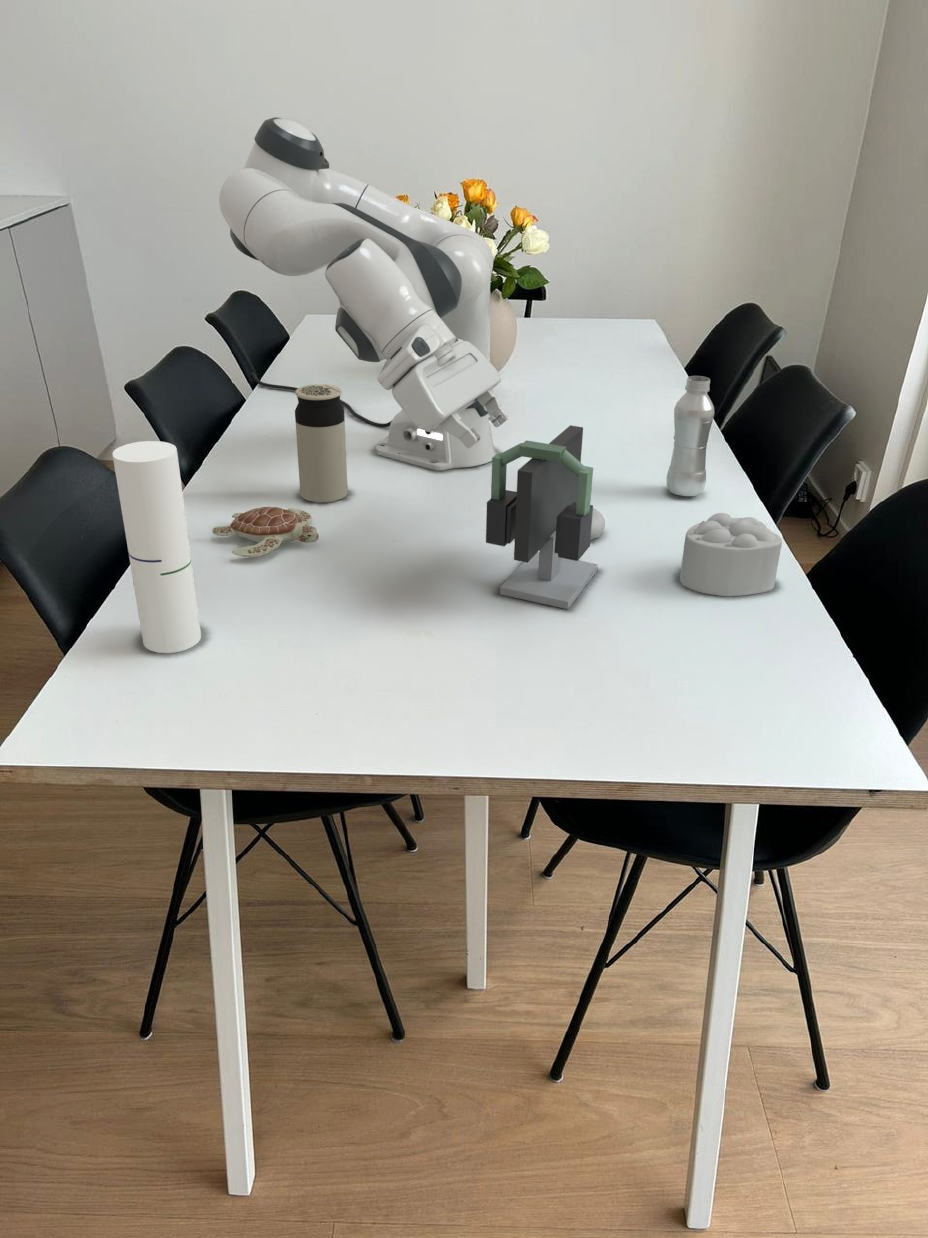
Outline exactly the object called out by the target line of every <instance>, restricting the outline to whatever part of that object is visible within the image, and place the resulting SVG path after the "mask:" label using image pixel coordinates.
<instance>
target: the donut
mask: <svg viewBox="0 0 928 1238" xmlns="http://www.w3.org/2000/svg"><path fill="white" fill-rule="evenodd" d="M605 527H606V519H605V518H604V516H603V514H602V513H601V512H600V510H597V509H596V508H594V507H593V514H592V526H591V538H590V541H592V540H594V539H597V538H598V537H599V536H600V535H602V533H604V530H605Z"/></svg>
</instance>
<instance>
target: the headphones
mask: <svg viewBox="0 0 928 1238" xmlns="http://www.w3.org/2000/svg"><path fill="white" fill-rule="evenodd" d="M522 457H523V458H529V459H532V458H535V459H541V460H547V461H553V462H559V463H560V462H561V463H562V464H564V465H565V466H566V467H567V468H568V469H569V470H570V471H572V472H573V473H574V474H575V475H576V476H577V477H578V490H577V503H576V502H573V503H572V504H571V505H568V506H567V507H566V508H565V509H564V510H563V511H562V512H561V513H560V514H559V515H558V516H557V521H556V537H555V553H558V557H559V558H564V559H569V560H574V561H578V560H580V559H581V558H582V557H583V556H584V554H585V553H586V551H588V549H589V548H590V547H591V540H590V538H591V526H592V514H593V508H594V505H593V504H591V503H592V502H591V501H592V500H591V499H592V489H593V488H592V487H593V475H594V467H592V466H586V465H584V464H583V463H582V462H581V463H580V462H579V461H578V460H577V459H576V458H575V457H574V456H572V455H571V454H570V453H569V452H568V451H567V450H566V447H565V446H558V445H552V444H549V443H545V442H540V441H534V440H533V441H532V440H525V441H523V442H520V443H518V444H516V445H514V446H513V447H511V448H509V449H507V450H505V451H502V452H501V451H498V452H496V455H495V456H493V457H492V460H491V480H490V481H491V483H490V485H491V487H490V499H489V500H488V501H486V518H485V519H486V520H485V528H486V529H485V543H486V544H491V545H496V546H498V547H499V546H500V547H506V546H507V545H508V544H509V545H510V544H511V543H512V542H513V541H515V520H516V497H517V491H515V490H509V489H507V468H508V467H507V466H508V464H510V463H512V462H514V461H515V460H518V459H520V458H522Z"/></svg>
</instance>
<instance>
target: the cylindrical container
mask: <svg viewBox="0 0 928 1238" xmlns="http://www.w3.org/2000/svg"><path fill="white" fill-rule="evenodd" d="M111 456H112V460H113V467H114V473H115V479H116V485H117V490H118V497H119V503H120V509H121V516H122V521H123V527H124V533H125V539H126V544H127V552H128V558H129V564H130V571H131V575H132V583H133V589H134V595H135V600H136V607H137V612H138V613H137V614H138V619H139V625H140V626H139V627H140V631H141V638H142V643H143V646H144V648H145V649H147V650H148V651H151V652H153V653H158V654H173V653H174V654H175V653H179V652H184V651H186V650H189V649H191V648H193V647H195V646H196V645H197V644H198V643H199V642H200V641H201V638H202V630H201V623H200V616H199V608H198V601H197V593H196V585H195V577H194V570H193V562H192V554H191V547H190V539H189V532H188V524H187V515H186V508H185V501H184V495H183V494H184V493H183V487H182V478H181V471H180V461H179V455H178V449H177V447H176V445H175V444H173V443H171V442H166V441H160V440H143V441H136V442H131V443H126V444H124V445H121V446H118V447H117V448H115V449H114V450H113V451H112V454H111Z"/></svg>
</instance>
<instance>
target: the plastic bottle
mask: <svg viewBox="0 0 928 1238" xmlns="http://www.w3.org/2000/svg"><path fill="white" fill-rule="evenodd" d="M710 384H711V379H710V378H709V377H706V376H704V375H703V376H702V375H691V376H687V378H686V384H685V387H684V390H685V391H686V392H685V393H683V395H682V396H681V397H680V398H679V399H678V400H677V402H676V403H675V406H674V408H673V422H674V423H673V424H674V426H673V427H674V436H673V440H674V441H673V449H672V454H671V459H670V465H669V466H668V470H667V474H666V477H665V480H666V487H667V489H668V491H669V492H670V493H672V494H673V495H677V496H681V497H695V496H699V495H700V494H702V492H704V490H705V487H706V484H707V469H706V466H707V465H706V464H707V463H706V461H707V447H708V441H709V435H710V432H711V429H712V424H713V421H714V417H715V406H714V404H713V402H712V400H711V398H710V396H709V394H708V392H710V389H711V388H710V386H711V385H710Z"/></svg>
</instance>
